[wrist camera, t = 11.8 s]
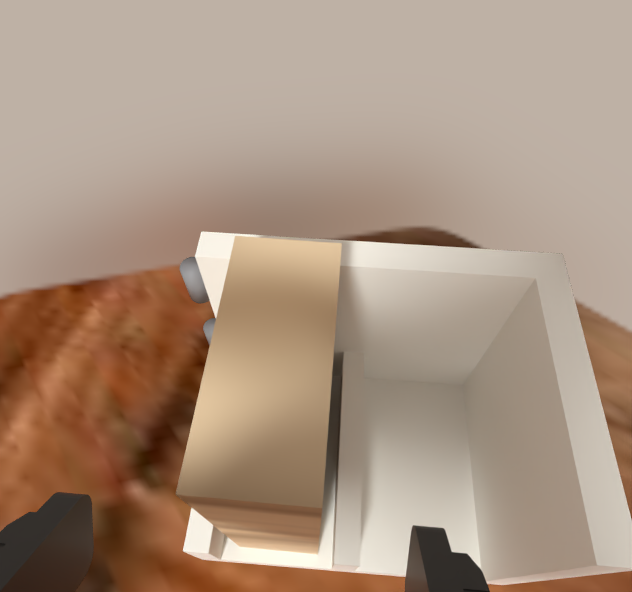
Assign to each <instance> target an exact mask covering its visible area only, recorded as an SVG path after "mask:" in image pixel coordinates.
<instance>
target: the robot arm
mask: <svg viewBox="0 0 632 592" xmlns="http://www.w3.org/2000/svg"><path fill="white" fill-rule="evenodd" d="M92 557H93V523H92V502H91V498H90V496H89V495H84V494H73V493H62V492H57V493H55V494H54V495H53V496H52V497H51V498H50V499H49V500H48V501H47V502H46V503H45V504H44V505H43V506H42V507H41V508H40V509H39V510H38V511H37V512H29V513H27V514H25V515H24V516H22V517H20V518H19V519H17V520H15V521H14V522H12V523H10V524H9V525H7V526H6V527H5V528H4V529H3V530H2V531H1V532H0V592H75V591H76V589H77V588H78V586H79V585H80V583H81V582H82V580H83V579H84V577H85V576H86V574H87V572H88V570H89V567H90V564H91V561H92ZM405 592H490V591H489V588H488V585H487V582H486V580H485V577H484V574H483V572H482V570H481V569H480V568H479V567H478V566H477V564H476V563H475V562H474V561H473V560H472V559H471V557H470V556H469V555H468V554H467V553H456V552H452V551H451V548H450V544H449V541H448V538H447V534H446V531H445V529H444V528H438V527H427V526H416V525H413V526H412V530H411V536H410V545H409V553H408V562H407V570H406V579H405Z"/></svg>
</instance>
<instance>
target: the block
mask: <svg viewBox="0 0 632 592" xmlns="http://www.w3.org/2000/svg"><path fill="white" fill-rule="evenodd" d="M341 248H342V243H329V242H315V241H301V240H287V239H273V238H259V237H245V236H235V239H234V243H233V248H232V252H231V256H230V261H229V265H228V269H227V274H226V278H225V282H224V287H223V291H222V295H221V300H220V304H219V308H218V313H217V317H216V321H215V326H214V330H213V334H212V339H211V343H210V347H209V352H208V356H207V360H206V365H205V369H204V374H203V378H202V382H201V387H200V391H199V395H198V400H197V404H196V408H195V413H194V417H193V421H192V426H191V430H190V434H189V439H188V443H187V447H186V452H185V456H184V460H183V465H182V469H181V473H180V478H179V482H178V486H177V491H176V495H177V496H178V497H179V498H181V499H182V500H183V501H184V502H186V503H187V504H188V505H189V506H190V507H192V508H193V509H194V510H195V511H197V512H198V513H199V514H200V515H201V516H203V517H204V518H205V519H206V520H207V521H209V522H210V523H211V524H212V525H214V526H215V527H216V528H217V529H218V530H220V531H221V532H222V533H223V534H225V535H226V536H227V537H228V538H229V539H231V540H232V541H233V542H234V543H236V544H237V545H238V546H239V547H246V548H256V549H266V550H276V551H286V552H297V553H307V554H317V555H318V546H319V536H320V526H321V516H322V506H323V492H324V478H325V465H326V451H327V438H328V424H329V411H330V397H331V384H332V370H333V356H334V343H335V329H336V316H337V302H338V289H339V275H340V262H341Z"/></svg>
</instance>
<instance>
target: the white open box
mask: <svg viewBox="0 0 632 592" xmlns="http://www.w3.org/2000/svg"><path fill="white" fill-rule="evenodd" d="M235 236H245V237H259V238H273V239H287V240H301V241H315V242H329V243H342V248H341V262H340V275H339V289H338V302H337V316H336V329H335V343H334V356H333V370H332V384H331V397H330V411H329V424H328V438H327V451H326V465H325V478H324V492H323V506H322V516H321V526H320V536H319V546H318V555H317V554H307V553H297V552H286V551H276V550H266V549H256V548H246V547H239V546H238V545H237V544H236V543H234V542H233V541H232V540H231V539H229V538H228V537H227V536H226V535H225V534H223V533H222V532H221V531H220V530H218V529H217V528H216V527H215V526H214V525H212V524H211V523H210V522H209V521H207V520H206V519H205V518H204V517H203V516H201V515H200V514H199V513H198V512H197V511H195V510H194V509H193V508H191V513H190V518H189V523H188V528H187V534H186V539H185V544H184V549H183V551H184V552H186V553H188V554H191V555H193V556H195V557H198V558H200V559H202V560H213V561H224V562H236V563H248V564H260V565H272V566H283V567H295V568H307V569H319V570H331V571H342V572H354V573H366V574H378V575H390V576H401V577H406V570H407V562H408V553H409V545H410V536H411V530H412V526H413V525H416V526H427V527H438V528H444V529H445V531H446V534H447V538H448V541H449V544H450V548H451V551H452V552H456V553H467V554H468V555H469V556H470V557H471V559H472V560H473V561H474V562H475V563H476V564H477V566H478V567H479V568H480V569H481V570H482V572H483V574H484V577H485V580H486V582H487V584H496V585H508V584H517V583H526V582H534V581H543V580H552V579H561V578H570V577H579V576H588V575H597V574H606V573H615V572H623V571H632V520H631V516H630V512H629V508H628V504H627V500H626V497H625V493H624V489H623V485H622V481H621V477H620V473H619V469H618V466H617V462H616V458H615V454H614V450H613V446H612V442H611V439H610V435H609V431H608V427H607V423H606V419H605V415H604V411H603V408H602V404H601V400H600V396H599V392H598V388H597V384H596V381H595V377H594V373H593V369H592V365H591V361H590V357H589V353H588V350H587V346H586V342H585V338H584V334H583V330H582V326H581V322H580V319H579V315H578V311H577V307H576V303H575V299H574V295H573V292H572V288H571V284H570V280H569V276H568V272H567V268H566V265H565V261H564V257H563V254H560V253H559V254H558V253H543V252H527V251H510V250H494V249H478V248H461V247H445V246H428V245H412V244H396V243H379V242H363V241H346V240H330V239H314V238H297V237H281V236H264V235H248V234H231V233H215V232H214V233H213V232H201V236H200V240H199V243H198V247H197V251H196V255H195V257H189V258H187V259H185V260H184V261H183V262H182V263H181V265H180V271H181V274H182V277H183V279H184V282H185V284H186V287H187V289H188V292H189V294H190V297H191V299H192V300H193V301H194V302H196V303H205V302H207V301H209V300H210V303H211V306H212V309H213V312H214V315H215V318H212V319H209V320H208V321H206V323H205V324H204V327H203V329H204V332H205V335H206V337H207V340H208V343H209V345H210V343H211V339H212V334H213V330H214V326H215V321H216V317H217V313H218V308H219V304H220V300H221V295H222V291H223V287H224V282H225V278H226V274H227V269H228V265H229V261H230V256H231V252H232V248H233V243H234V239H235Z"/></svg>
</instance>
